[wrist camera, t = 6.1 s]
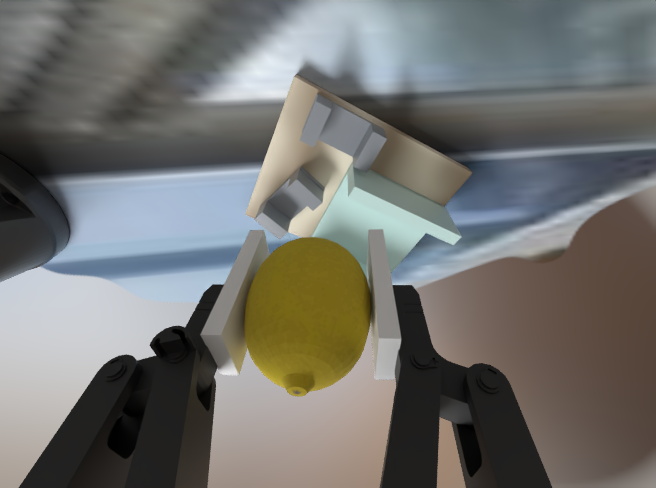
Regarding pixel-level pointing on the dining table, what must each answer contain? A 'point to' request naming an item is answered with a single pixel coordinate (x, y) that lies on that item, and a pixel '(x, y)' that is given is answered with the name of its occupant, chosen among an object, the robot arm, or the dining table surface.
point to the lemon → (307, 315)
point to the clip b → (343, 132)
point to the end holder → (382, 216)
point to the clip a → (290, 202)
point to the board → (347, 160)
